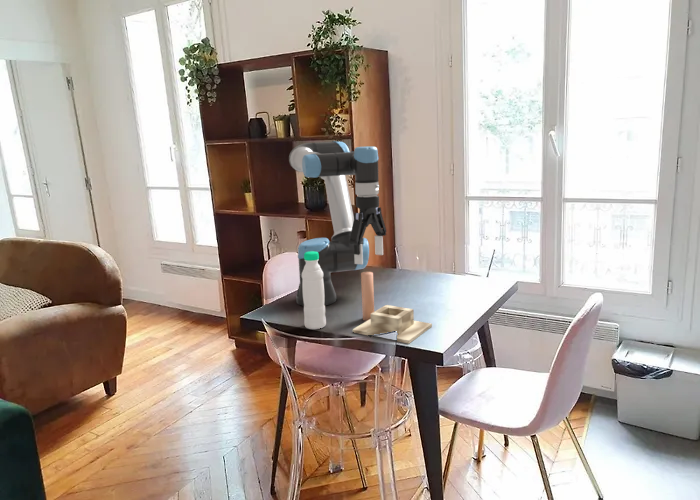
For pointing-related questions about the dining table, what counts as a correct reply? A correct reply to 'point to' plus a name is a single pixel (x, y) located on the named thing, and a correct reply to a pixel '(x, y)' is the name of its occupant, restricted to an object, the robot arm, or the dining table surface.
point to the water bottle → (313, 292)
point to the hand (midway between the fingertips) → (369, 259)
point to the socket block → (394, 323)
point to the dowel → (367, 294)
